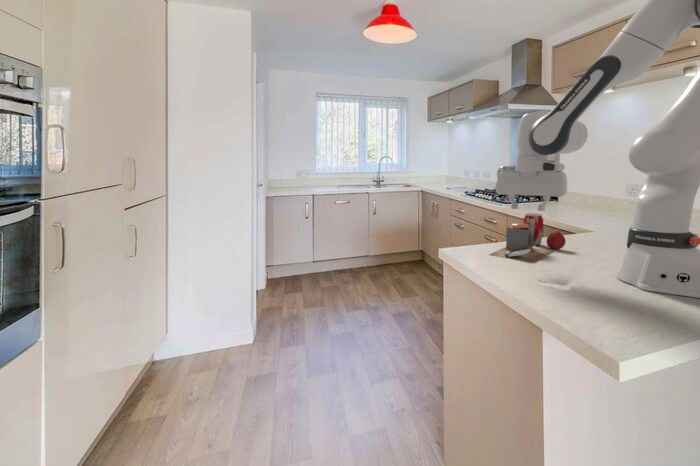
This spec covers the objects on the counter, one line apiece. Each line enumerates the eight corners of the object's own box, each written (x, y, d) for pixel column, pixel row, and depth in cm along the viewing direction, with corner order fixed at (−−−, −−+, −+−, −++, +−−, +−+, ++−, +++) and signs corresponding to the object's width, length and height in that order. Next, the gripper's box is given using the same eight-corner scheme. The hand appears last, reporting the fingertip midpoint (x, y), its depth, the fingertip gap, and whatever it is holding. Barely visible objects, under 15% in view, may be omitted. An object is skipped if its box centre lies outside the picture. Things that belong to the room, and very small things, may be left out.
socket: (532, 249, 124) (534, 227, 122) (526, 252, 120) (528, 230, 118) (511, 246, 129) (513, 225, 127) (505, 249, 125) (507, 227, 123)
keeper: (531, 251, 113) (530, 247, 113) (525, 253, 110) (524, 250, 110) (511, 254, 118) (510, 251, 118) (505, 257, 115) (504, 253, 115)
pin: (529, 248, 124) (531, 224, 123) (523, 251, 120) (525, 226, 119) (512, 246, 128) (514, 222, 127) (506, 249, 124) (508, 224, 123)
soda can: (544, 246, 133) (547, 215, 130) (526, 246, 133) (528, 215, 130) (535, 242, 140) (538, 213, 137) (517, 242, 140) (520, 213, 137)
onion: (547, 252, 123) (550, 230, 122) (544, 249, 129) (546, 227, 127) (566, 253, 121) (568, 231, 120) (561, 249, 127) (563, 228, 125)
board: (554, 253, 121) (554, 251, 121) (535, 266, 107) (535, 262, 107) (510, 247, 132) (510, 244, 131) (488, 257, 118) (488, 254, 118)
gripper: (493, 166, 112) (491, 208, 115) (565, 165, 98) (560, 213, 101) (501, 166, 117) (498, 206, 119) (570, 164, 102) (566, 211, 105)
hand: (527, 209), depth 110 cm, fingers open, 7 cm apart
